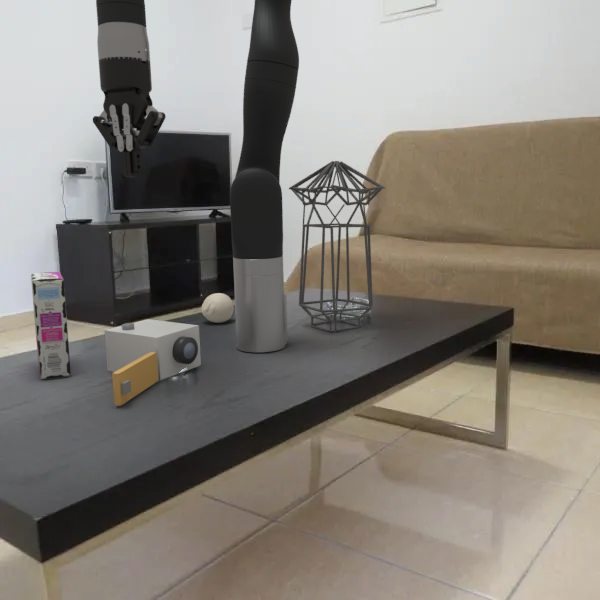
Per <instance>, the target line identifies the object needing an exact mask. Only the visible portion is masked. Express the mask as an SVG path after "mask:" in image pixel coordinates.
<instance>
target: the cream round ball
mask: <svg viewBox="0 0 600 600" xmlns="http://www.w3.org/2000/svg"><path fill="white" fill-rule="evenodd" d="M234 310H235V305H234V301H232V299H231V297H230V296H229V295H228V294H226V293H220V292H217V293H216V292H215V293H212V294H210V295H208V296H207V297H206V298H205V299H204V300H203V303H202V305H201V313H202V315H203V316H204V317H205V318H206V320H208V321H209V322H211V323H215V324H222V323H225V322H227V321H229V320H230V319H231V318H232V316H233V313H234V312H235V311H234Z"/></svg>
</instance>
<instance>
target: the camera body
mask: <svg viewBox="0 0 600 600" xmlns="http://www.w3.org/2000/svg"><path fill="white" fill-rule="evenodd" d="M103 331H104V342H105V344H104V345H105V356H106V367H107V368H106V369H107V372H112V373H114V372H116V371H117V370H119V369H121V368H123V367H125V366H126V365H128V364H130V363H132V362H134V361H135V360H137V359H139V358H141V357H142V356H144V355H146V354H148V353H150V352H151V350H153V349H158V350H159V364H160V380H161V381H162V380H165V379H167V378H170V377H173V376H175V375H178V374H177V373H179V372H180V371H181V370H182V369H184V368H186V367H187V368H188V369H189V370H193V369H195V368H198V367H201V365H202V363H201V362H202V361H201V343H200V341H201V340H200V325H197V324H189V323H184V322H183V323H181V322H174V321H166V320H165V321H164V320H156V319H150V318H147V319H143V320H140V321H135V322H126V323H125V322H124V323H123V324H121V325H119V326H115V327H112V328H108V329H105V330H103ZM179 374H180V373H179Z"/></svg>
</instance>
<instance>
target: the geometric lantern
mask: <svg viewBox="0 0 600 600" xmlns="http://www.w3.org/2000/svg"><path fill="white" fill-rule="evenodd" d="M355 175H356V176H358V177H359V178H362V179H363V180H365V181H366V182H369V183H370V184H371V185H374V186H373V187H367V186H365V185H364V184H363V183H362V182H361V181H360V180H359V179H358V178H357V177H356V176H355ZM336 176H337V177H336ZM345 177H346V178H347V180H348V181H349V183H351V185H352V186H353V187H354V188H350V187H349V186H348V184H347V180H346V179H345ZM313 178H314V179H313ZM332 178H333V180H332ZM336 178H337V182H338V185H336V184H335V181H336ZM311 179H312V181H311V182H310V183H309V184H308V185H307V186H305V187H300V186H302V185H303V184H305V183H306V182H308V181H310V180H311ZM326 185H327V186H326ZM324 189H325V190H324ZM383 189H384V190H385V189H386V187H385V186H383V185H381V184H380V183H379V182H376V181H375V180H373V179H372V178H370V177H368V176H367V175H365V174H363V173H362V172H360V171H358V170H357V169H354V168H353V167H352V166H350V165H348V164H346V162H343V161H341V160H335V161H334V160H332V161H330V162H329V163H327V164H326V165H324V166H322V167H321V168H319V169H317V170H316V171H314V172H313V173H311V174H309V175H308V176H306V177H305V178H303V179H301V180H299V181H298V182H296V183H295V184H293V185H292V186H290V187H289V188H288V190H291V191H292V192H293V194H294V195H295V196H296V197H297V198H298V200H300V202H301V203H302V206H303V212H302V213H303V214H302V215H303V216H302V232H301V234H302V235H301V236H302V237H301V256H300V274H299V275H300V277H299V292H298V293H299V295H298V296H299V298H298V306H299V307H301V309H303V311H304V312H305V313H306V314H307V315H308V316H310V327H311V328H315V329H318V330H322V331H325V332H329V333H337V332H341V331H342V332H343V331H347V330H348V331H349V330H352V329H359V328H361V327H362V326H361V319H362V318H363V317H364V316H365V315H367V314H369V312H370V311H371V310H372V309H373V307H374V303H373V300H374V299H373V279H372V277H373V275H372V251H371V247H372V246H371V226H372V225H371V224H368V223H367V217H366V215H367V214H366V206H369V205H370V202H372V201H373V199H374V198H376V196H377V195H378V194H380V192H381V191H382V190H383ZM342 191H343V192H346V193H345V194H346V199H345V198H344V197H343V196H342V194H341V193H340V192H342ZM329 192H334V194H332V196H331V197H330V198H328V195H329ZM305 193H307V195H306V194H305ZM310 193H312V194H314V196H313V198H311V194H310ZM321 193H325V198H324V199H325V200H324V202H319V201H317V198H318V196H320V194H321ZM354 193H358V197H357V196H356V195H355V194H354ZM349 194H350V196H351V197H352V198H353V199H354V201H351V202H350V197H349ZM364 194H367V195H365V196H364ZM336 196H338V198H339V199H340V200H341V201H342V202H343V204H342V206H341V207H340V209H339V210H338V211H337V213H336V214H334V213H333V211H332V210H331V209H330V207H329V206H328V205H329V204H330V203H331V202H332V200H333V199H334V198H335V197H336ZM305 199H307V200H308V202H306V201H305ZM365 200H366V202H365ZM310 205H311V206H312V207H311V209H310V213H309V215H308V216H309V217H308V220H307V222H306V224H305V217H306V215H305V213H306V207H307V206H310ZM316 205H320V206H326V208H327V209H328V210H329V212H330V214H331V215H332V216H333V219H331V221H330V223H324V221H323V218H322V217H321V215H320V213H319V211H318V209H317V207H316ZM353 205H356V206H355V208H354V210H353V211H352V213H351V215H350V216H349V218H348V220H347V222H346V223H340V221H339V220H338V219H337V217H338V215H339V214H340V213H341V211H342V210H343V208H344V207H345V206H353ZM358 208H359V209H360V213H361V215H362V220H363V222H364V224H362V223H350V222H351V221H352V219H353V217H354V216H355V213H356V211H357V210H358ZM314 212H315V214H316V216H317V218H318V220H319V222H320V223H311V224H310V222H311V219H312V216H313V213H314ZM335 220H336V222H337V223H333V222H334V221H335ZM310 227H311V228H322V232H321V233H322V234H321V235H322V236H321V237H322V238H321V261H320V262H321V265H320V267H321V268H320V293H319V294H320V295H319V296H320V297H319V300H312V301H305V288H306V286H305V285H306V278H307V276H306V275H307V261H308V260H307V259H308V245H309V235H310V234H309V233H310V231H309V230H310ZM334 228H338V232H337V233H338V235H337V255H336V257H337V258H336V259H337V260H336V262H337V263H336V276H335V253H334V252H335V251H334V250H335V249H334V248H335V246H334ZM342 228H345V245H346V254H345V255H346V293H347V295H346V298H347V299H343V298H339V287H340V285H339V284H340V283H339V281H340V260H341V258H340V257H341V239H342V238H341V235H342ZM349 228H363V233H364V248H365V264H366V266H365V267H366V280H367V296H368V297H367V298H368V303H367V302H362V301H357V300H352V299H350V298H351V297H350V296H351V295H350V293H351V292H350V291H351V289H350V249H349V247H350V246H349ZM326 229H330V258H331V259H330V260H331V262H330V263H331V289H332V290H331V291H332V295H331V297H332V298H331V299H324V278H325V276H324V275H325V273H324V272H325V249H326V248H325V245H326V243H325V242H326V240H325V239H326V238H325V237H326ZM335 277H336V281H335ZM335 282H336V284H335ZM331 302H332V309H323V305H324V304H323V303H331ZM338 302H345V304H344V306H343V307H342V308H341V309H340V308H339V309H338ZM349 303H350V304H351V303H352V304H355V305H361V306H362V307H351V308H346V307H347V305H348V304H349ZM312 304H313V305H315V304H319V308H316V307H313V306H309V305H312ZM363 306H364V307H363ZM309 310H312V311H315V312H318V314H312V313H311V312H310V311H309ZM355 311H356V312H357V311H363V312H362V313H361V315H356V314H351V313H347V312H355ZM345 312H346V313H345ZM319 313H320V314H319ZM328 315H333V319H332V320H331V319H330V318H329V317H328ZM337 315H339V319H337ZM321 316H323V318H322V317H321ZM342 316H348V317H351V318H343V319H342ZM324 317H325V318H324ZM314 319H316V320H321V321H323V322H314ZM354 320H357V322H358V323H355V322H351V321H354ZM337 322H338V323H339V322H341V323H345V324H349V325H352V326H351V327H345V328H339V329H337V328H338V327H337V325H338V324H337ZM332 323H334V329H333V330H332ZM322 324H323V325H324V324H329V329H326V328H323V327H320V326H317V325H322Z"/></svg>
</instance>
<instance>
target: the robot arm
mask: <svg viewBox="0 0 600 600" xmlns="http://www.w3.org/2000/svg"><path fill="white" fill-rule="evenodd" d="M292 1H293V0H254V5H253V6H254V8H253V14H252V21H251V22H252V23H251V33H250V39H249V40H250V41H249V49H248V55H247V61H246V66H245V76H244V85H243V98H242V100H243V101H242V102H243V103H242V121H243V123H242V124H243V125H242V126H243V127H242V129H243V131H242V132H243V133H242V134H243V135H242V136H243V137H242V144H241V151H240V157H239V160H238V166H237V169H236V172H235V177H234V179H233V181H232V183H231V185H230V188H229V206H230V208H229V209H230V210H229V211H230V227H231V229H230V231H231V232H230V233H231V246H232V260H233V261H232V262H233V263H232V264H233V283H234V287H233V288H234V290H233V291H234V310H235V311H234V312H235V313H234V314H235V335H236V336H235V337H236V349H238V351H241V352H247V353H269V352H276V351H280V350H282V349H284V348H286V345H287V344H288V341H289V340H288V317H287V316H288V312H287V311H288V310H287V307H288V306H287V305H288V304H287V295H286V294H285V281H284V246H283V245H284V244H283V243H284V225H283V224H284V223H283V217H284V216H283V192H282V191H283V190H282V187H281V184H280V183H281V182H280V172H281V170H280V169H281V156H282V148H283V142H284V138H285V134H286V131H287V127H288V125H289V120H290V118H291V114H292V110H293V105H294V100H295V95H296V89H297V82H298V75H299V68H300V56H299V55H300V54H299V49H298V44H297V40H296V37H295V34H294V29H293V24H292V20H291V19H292V18H291V6H292ZM95 3H96V4H95V5H96V6H95V7H96V15H97V16H96V17H97V18H96V19H97V55H98V56H97V58H98V69H99V71H98V72H99V82H100V83H99V84H100V90H101V92H103V94H104V101H103V105H102V106H103V107H102V108H103V110H102V112H101V114H99V115H98V116H97V115H94V116H93V117H92V122H93V124H94V125H95V127H96V129H97V130H98V132H99V133H100V134H101V136H102V138H103V139H104V140H105V142H106V144H108V146H109V148H111V149H115V150H117V151H119V153H120V163H121V165H120V167H121V172H122V174H123V176H124V177H125V178H136V177H137V178H138V177H140V176H141V173H142V171H143V166H142V165H143V164H142V152H143V150H144V149H145V148H150V147H151V146H152V145H153V143H154V141H155V139H156V138H157V135H158V134H159V131H160V129H161V127H162V126H163V123H164V122H165V120H166V114H165V112H162V111H158V109H156V108H155V107H154V106H153V105H154V104H153V100H152V98H151V96H150V93H151V91H152V89H153V85H152V71H151V57H150V56H151V54H150V53H151V51H150V42H149V37H148V32H147V16H146V3H145V0H95Z"/></svg>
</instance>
